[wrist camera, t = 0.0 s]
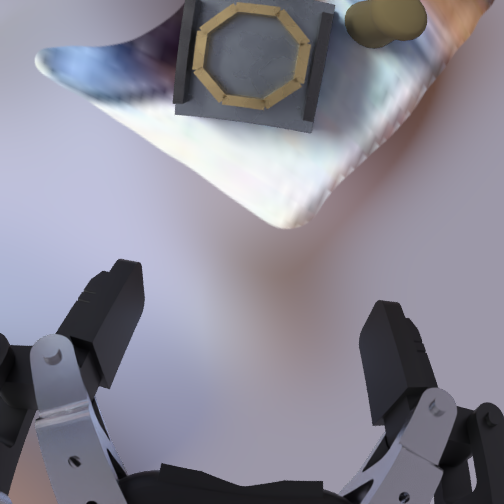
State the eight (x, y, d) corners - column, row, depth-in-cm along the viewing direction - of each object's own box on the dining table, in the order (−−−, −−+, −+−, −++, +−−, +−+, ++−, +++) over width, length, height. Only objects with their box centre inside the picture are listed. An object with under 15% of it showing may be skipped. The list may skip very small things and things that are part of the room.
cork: (402, 19, 26) (446, 9, 17) (381, 57, 29) (420, 58, 20) (357, -8, 25) (387, -32, 15) (335, 30, 28) (359, 17, 19)
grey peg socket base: (197, -7, 26) (180, -21, 20) (332, 10, 26) (344, -2, 21) (182, 111, 34) (163, 122, 29) (310, 129, 35) (317, 143, 29)
